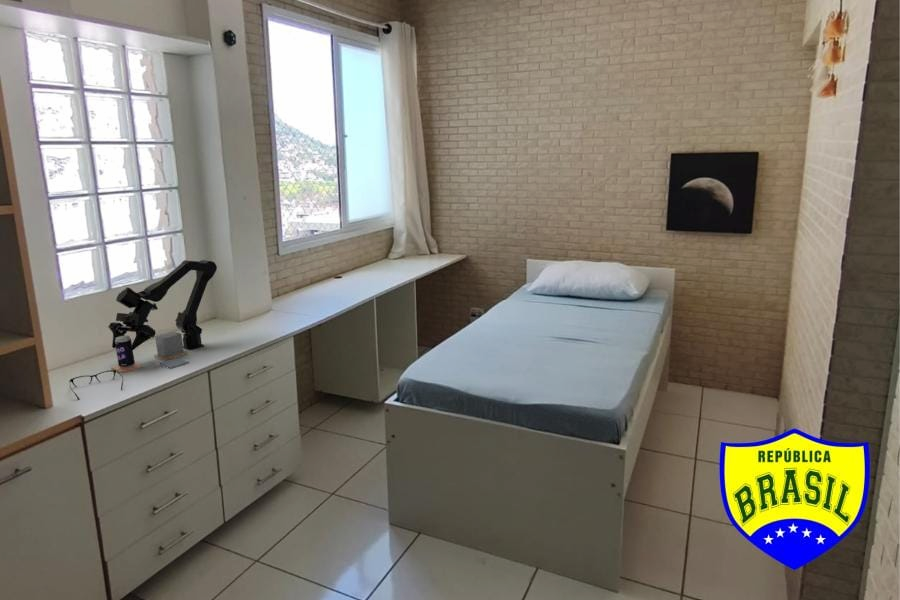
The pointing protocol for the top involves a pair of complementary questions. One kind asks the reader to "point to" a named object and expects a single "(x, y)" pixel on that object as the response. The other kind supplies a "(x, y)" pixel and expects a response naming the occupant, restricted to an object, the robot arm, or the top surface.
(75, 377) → the eyeglasses
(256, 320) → the top surface
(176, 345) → the grey unit
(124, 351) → the beverage can
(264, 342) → the top surface
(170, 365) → the slate pad
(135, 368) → the terracotta pad
